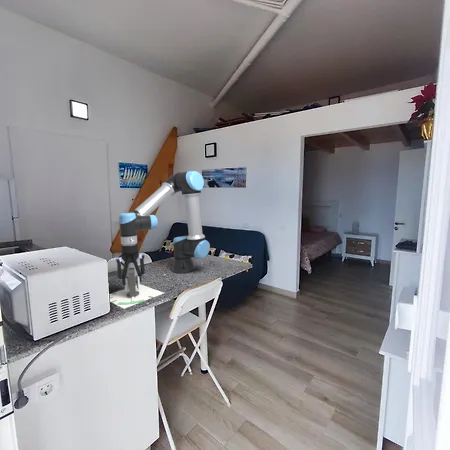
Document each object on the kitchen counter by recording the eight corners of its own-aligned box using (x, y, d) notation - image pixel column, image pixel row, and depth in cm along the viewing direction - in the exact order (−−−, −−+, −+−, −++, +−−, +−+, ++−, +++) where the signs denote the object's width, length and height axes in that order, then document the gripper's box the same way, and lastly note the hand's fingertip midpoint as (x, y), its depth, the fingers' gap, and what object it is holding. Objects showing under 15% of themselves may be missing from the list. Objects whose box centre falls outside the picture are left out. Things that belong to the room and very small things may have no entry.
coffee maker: (139, 272, 170) (138, 245, 167) (145, 274, 163) (143, 247, 161) (116, 277, 160) (114, 249, 158) (121, 280, 153) (119, 251, 151)
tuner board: (140, 286, 143) (140, 283, 143) (165, 295, 129) (164, 292, 129) (100, 299, 126) (100, 296, 126) (124, 311, 112) (124, 308, 112)
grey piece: (126, 292, 131) (125, 268, 129) (139, 290, 133) (137, 267, 131) (126, 302, 118) (124, 276, 116) (139, 300, 120) (137, 274, 118)
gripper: (111, 248, 116) (115, 296, 119) (150, 242, 126) (152, 287, 129) (107, 245, 122) (111, 292, 125) (145, 240, 132) (147, 283, 135)
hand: (132, 289), depth 127 cm, fingers open, 5 cm apart
